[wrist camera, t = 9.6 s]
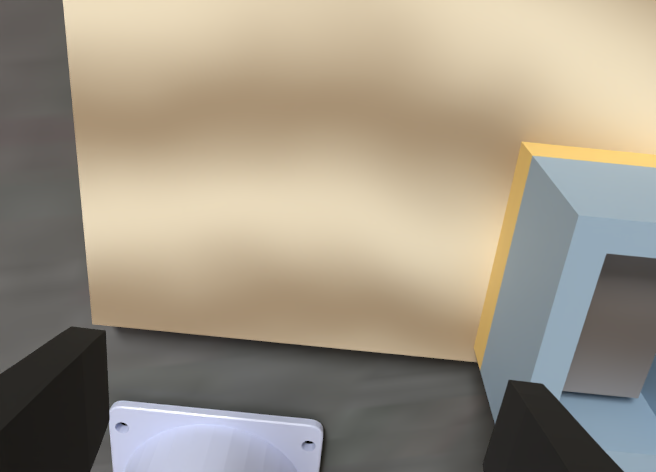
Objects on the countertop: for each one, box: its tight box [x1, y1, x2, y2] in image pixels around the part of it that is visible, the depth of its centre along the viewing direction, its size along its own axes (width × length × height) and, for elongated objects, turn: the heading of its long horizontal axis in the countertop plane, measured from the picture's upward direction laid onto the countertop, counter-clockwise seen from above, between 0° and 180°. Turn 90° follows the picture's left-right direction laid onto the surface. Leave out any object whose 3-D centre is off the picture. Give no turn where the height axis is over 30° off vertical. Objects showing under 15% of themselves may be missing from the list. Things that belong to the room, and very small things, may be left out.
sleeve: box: [474, 142, 656, 472], centre depth 17 cm, size 5×7×5 cm
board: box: [63, 0, 656, 398], centre depth 17 cm, size 14×20×5 cm
